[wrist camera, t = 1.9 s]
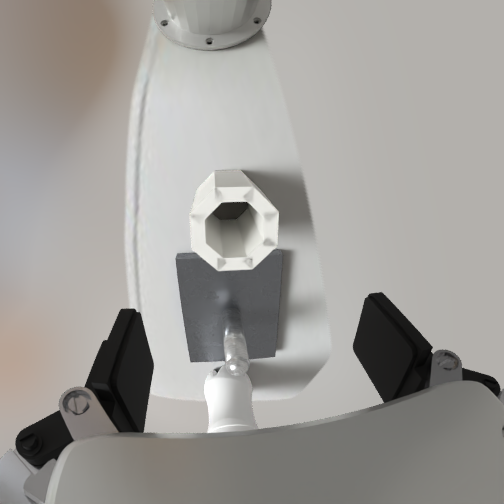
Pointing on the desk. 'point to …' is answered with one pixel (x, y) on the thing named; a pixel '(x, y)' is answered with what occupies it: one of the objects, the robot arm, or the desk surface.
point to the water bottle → (229, 402)
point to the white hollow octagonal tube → (232, 223)
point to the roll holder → (230, 310)
